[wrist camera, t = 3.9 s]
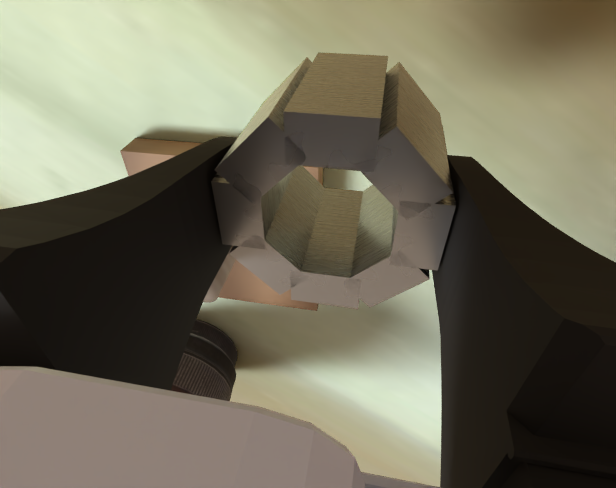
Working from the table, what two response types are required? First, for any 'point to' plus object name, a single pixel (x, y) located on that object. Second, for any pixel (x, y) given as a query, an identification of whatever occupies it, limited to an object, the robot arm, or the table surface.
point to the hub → (337, 202)
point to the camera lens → (207, 364)
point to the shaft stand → (232, 274)
